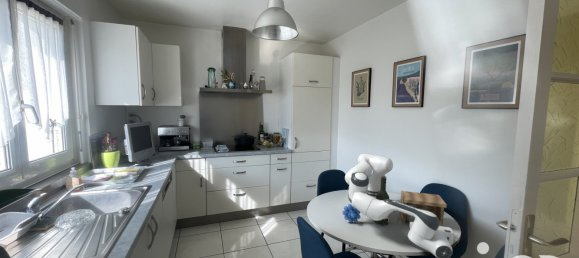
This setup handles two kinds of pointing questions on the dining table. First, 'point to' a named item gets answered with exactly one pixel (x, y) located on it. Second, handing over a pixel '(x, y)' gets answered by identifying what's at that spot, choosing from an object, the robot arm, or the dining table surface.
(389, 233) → the dining table surface
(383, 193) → the wine bottle
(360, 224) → the dining table surface
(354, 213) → the blue knobby ball
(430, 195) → the cubby
